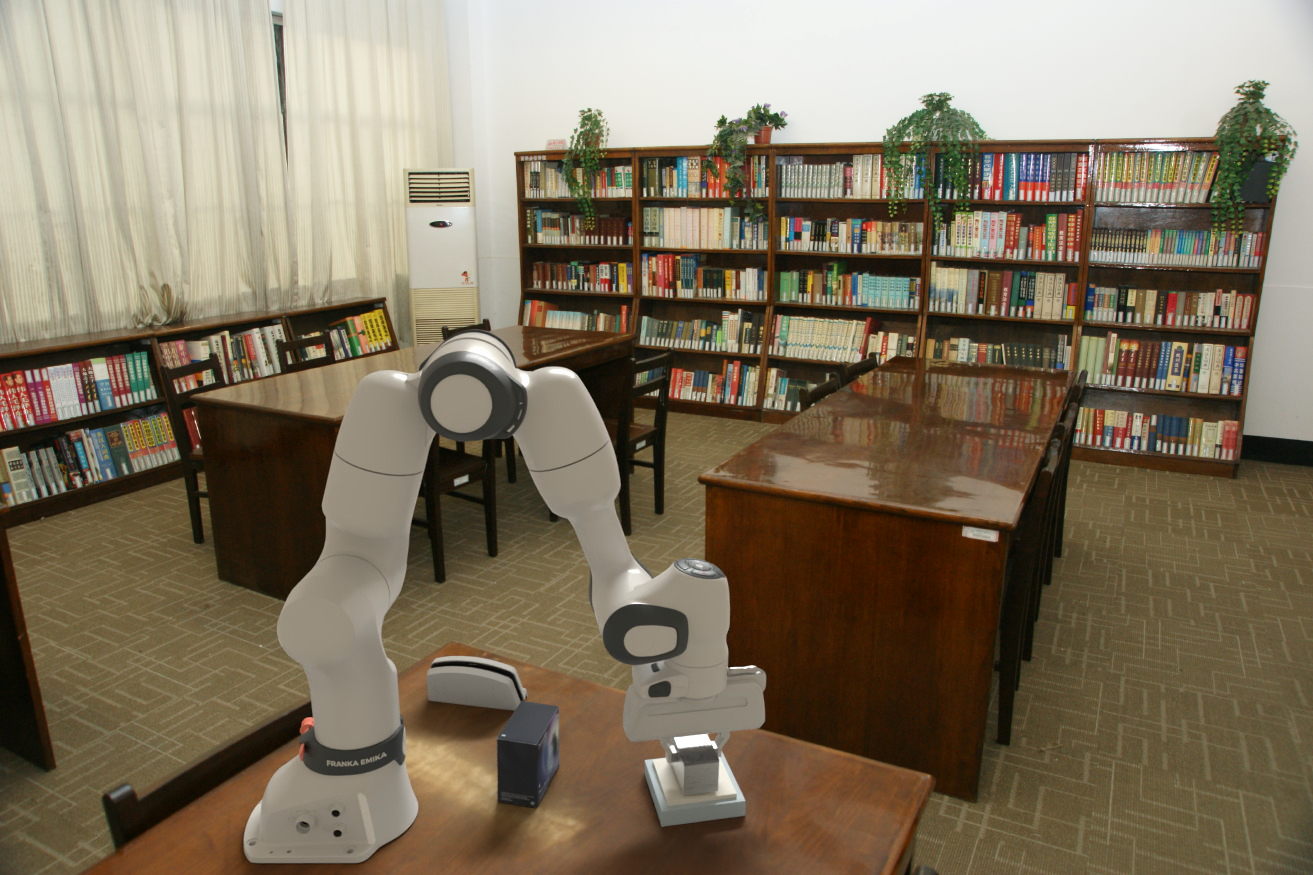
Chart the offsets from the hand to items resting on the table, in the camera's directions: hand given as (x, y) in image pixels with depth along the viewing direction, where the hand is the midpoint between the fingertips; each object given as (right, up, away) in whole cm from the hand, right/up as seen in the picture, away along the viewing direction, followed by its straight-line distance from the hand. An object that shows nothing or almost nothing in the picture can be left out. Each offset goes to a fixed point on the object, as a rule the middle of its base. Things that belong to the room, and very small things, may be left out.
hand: (693, 757), depth 130 cm
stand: (0, -6, +2) cm, 6 cm away
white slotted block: (-36, 0, +25) cm, 44 cm away
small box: (-24, -5, +4) cm, 25 cm away
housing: (0, -3, +1) cm, 3 cm away
